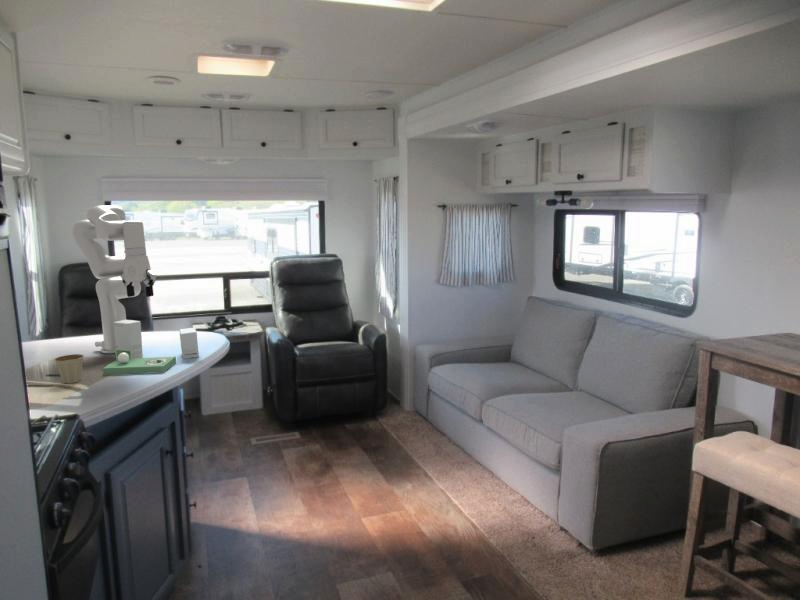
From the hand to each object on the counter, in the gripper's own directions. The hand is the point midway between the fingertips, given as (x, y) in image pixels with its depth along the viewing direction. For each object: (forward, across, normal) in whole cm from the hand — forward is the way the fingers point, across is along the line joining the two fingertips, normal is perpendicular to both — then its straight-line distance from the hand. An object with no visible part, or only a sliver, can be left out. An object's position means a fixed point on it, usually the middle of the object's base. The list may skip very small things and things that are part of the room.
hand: (140, 296), depth 241 cm
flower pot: (+26, -5, -31) cm, 41 cm away
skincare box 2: (+26, +10, +13) cm, 31 cm away
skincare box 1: (+26, -10, 0) cm, 27 cm away
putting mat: (+26, +6, -10) cm, 29 cm away
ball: (+22, +1, -12) cm, 25 cm away
